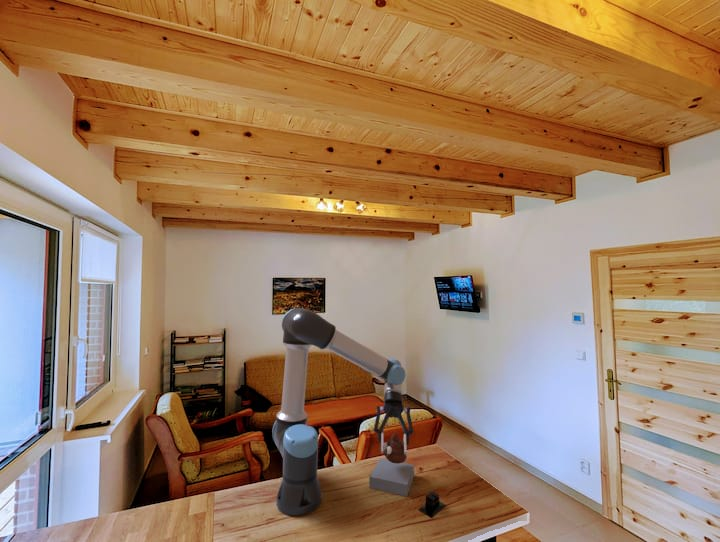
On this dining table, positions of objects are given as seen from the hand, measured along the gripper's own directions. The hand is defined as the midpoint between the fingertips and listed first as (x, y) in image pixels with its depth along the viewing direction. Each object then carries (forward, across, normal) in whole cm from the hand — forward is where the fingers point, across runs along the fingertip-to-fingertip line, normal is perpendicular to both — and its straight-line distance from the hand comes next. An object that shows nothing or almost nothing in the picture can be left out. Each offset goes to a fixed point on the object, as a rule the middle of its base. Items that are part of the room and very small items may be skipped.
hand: (393, 452), depth 123 cm
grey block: (+6, 0, -11) cm, 13 cm away
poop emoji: (0, 0, -5) cm, 5 cm away
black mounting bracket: (+17, -13, -2) cm, 21 cm away
